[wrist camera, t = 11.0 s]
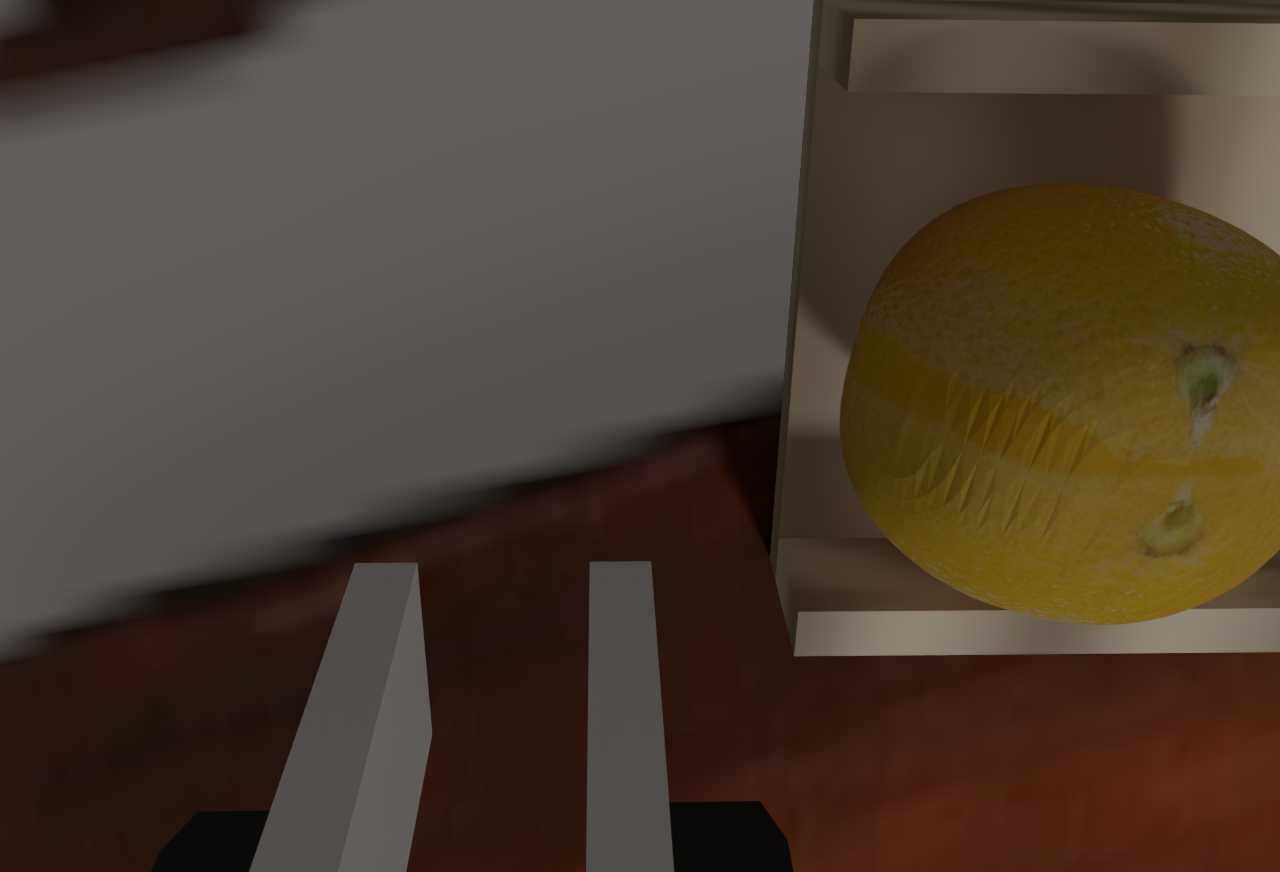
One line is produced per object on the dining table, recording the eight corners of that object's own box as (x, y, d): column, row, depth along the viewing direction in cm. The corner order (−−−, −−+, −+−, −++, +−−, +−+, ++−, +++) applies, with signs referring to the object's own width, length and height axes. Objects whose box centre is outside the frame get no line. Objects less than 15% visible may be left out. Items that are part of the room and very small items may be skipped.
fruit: (1241, 128, 23) (1525, 247, 16) (1176, 473, 27) (1383, 694, 20) (811, 152, 23) (906, 282, 16) (804, 494, 27) (878, 724, 20)
